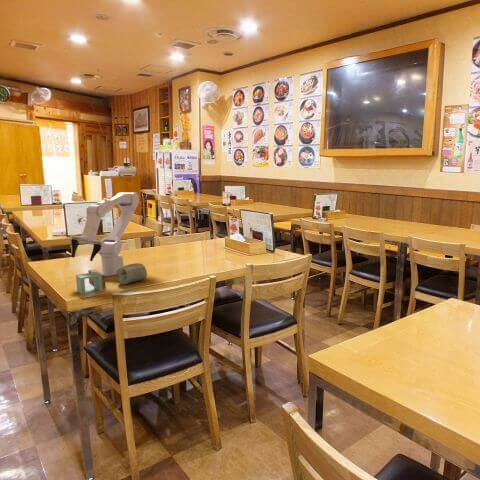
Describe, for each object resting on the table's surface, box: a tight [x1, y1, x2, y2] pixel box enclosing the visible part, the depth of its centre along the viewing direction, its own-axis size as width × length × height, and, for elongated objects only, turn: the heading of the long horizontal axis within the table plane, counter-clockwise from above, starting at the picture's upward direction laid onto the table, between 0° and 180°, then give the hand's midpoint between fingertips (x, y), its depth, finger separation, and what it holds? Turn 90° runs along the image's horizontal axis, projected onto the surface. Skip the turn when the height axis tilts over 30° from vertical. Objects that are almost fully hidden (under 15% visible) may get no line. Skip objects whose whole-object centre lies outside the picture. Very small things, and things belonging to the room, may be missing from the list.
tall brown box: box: [87, 268, 106, 287], centre depth 179 cm, size 3×13×5 cm, turn 36°
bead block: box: [75, 272, 103, 295], centre depth 166 cm, size 8×6×7 cm
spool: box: [116, 262, 148, 286], centre depth 179 cm, size 14×10×10 cm
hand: (81, 258), depth 176 cm, fingers open, 7 cm apart
